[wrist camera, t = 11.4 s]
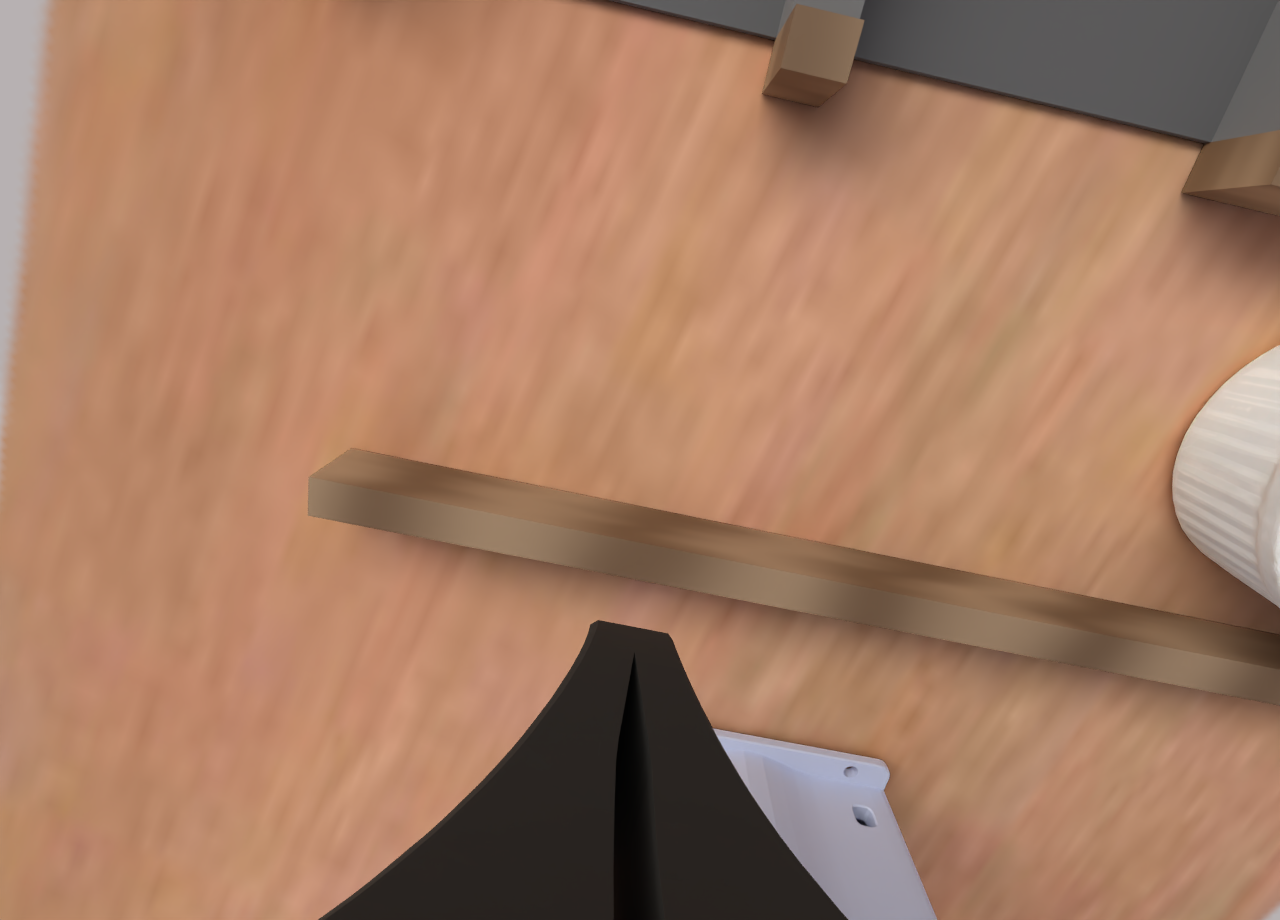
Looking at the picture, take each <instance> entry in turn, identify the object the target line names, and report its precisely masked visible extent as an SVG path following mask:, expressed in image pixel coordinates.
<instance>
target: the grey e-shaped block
mask: <svg viewBox="0 0 1280 920" xmlns="http://www.w3.org/2000/svg"><path fill="white" fill-rule="evenodd" d="M609 1H613V2H618V3H622V4H626V5H630V6H634V7H638V8H643V9H647V10H651V11H655V12H659V13H663V14H668V15H672V16H676V17H680V18H684V19H688V20H693V21H697V22H701V23H705V24H709V25H713V26H718V27H722V28H726V29H730V30H734V31H738V32H743V33H747V34H751V35H755V36H759V37H763V38H768V39H772V40H775V39H776V37H777V36H778V34H779V32H780V31H781V29H782V27H783V26H784V24H785V22H786V21H787V19H788V17H789V15H790V14H791V12H792V10H793V9H794V7H795V5H796V4H800V5H805V6H809V7H813V8H817V9H821V10H825V11H829V12H833V13H838V14H842V15H846V16H850V17H854V18H858V19H862V20H865V21H864V24H863V28H862V31H861V35H860V38H859V42H858V45H857V49H856V53H855V56H854V59H855V60H859V61H863V62H868V63H872V64H876V65H880V66H884V67H888V68H893V69H897V70H901V71H905V72H909V73H913V74H918V75H922V76H926V77H930V78H934V79H938V80H943V81H947V82H951V83H955V84H959V85H963V86H968V87H972V88H976V89H980V90H984V91H989V92H993V93H997V94H1001V95H1005V96H1009V97H1014V98H1018V99H1022V100H1026V101H1030V102H1034V103H1039V104H1043V105H1047V106H1051V107H1055V108H1059V109H1064V110H1068V111H1072V112H1076V113H1080V114H1084V115H1089V116H1093V117H1097V118H1101V119H1105V120H1109V121H1114V122H1118V123H1122V124H1126V125H1130V126H1134V127H1139V128H1143V129H1147V130H1151V131H1155V132H1159V133H1164V134H1168V135H1172V136H1176V137H1180V138H1184V139H1189V140H1193V141H1197V142H1201V143H1209V142H1215V141H1221V140H1226V139H1232V138H1237V137H1243V136H1249V135H1254V134H1260V133H1265V132H1271V131H1276V130H1280V0H609Z"/></svg>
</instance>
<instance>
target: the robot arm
mask: <svg viewBox="0 0 1280 920" xmlns="http://www.w3.org/2000/svg"><path fill="white" fill-rule="evenodd" d="M852 766H853V767H852ZM847 767H851V768H849V769H845V768H847ZM889 778H890V772H889V769H888V767H887V765H886V763H885V762H884V761H882V760H880V759H876V758H870V757H865V756H860V755H854V754H849V753H843V752H838V751H833V750H827V749H822V748H816V747H811V746H806V745H800V744H795V743H789V742H784V741H779V740H773V739H768V738H762V737H757V736H752V735H746V734H741V733H735V732H730V731H725V730H719V729H714V728H712V726H711V724H710V722H709V720H708V718H707V716H706V714H705V712H704V710H703V708H702V706H701V705H700V702H699V700H698V698H697V696H696V694H695V692H694V690H693V688H692V686H691V683H690V681H689V679H688V677H687V675H686V672H685V670H684V668H683V665H682V663H681V660H680V658H679V656H678V653H677V651H676V648H675V645H674V643H673V640H672V639H671V637H670V636H669V634H668V633H662V632H657V631H652V630H647V629H641V628H636V627H631V626H626V625H621V624H615V623H610V622H605V621H600V620H598V621H596V622H594V623H592V624H591V625H590V629H589V632H588V635H587V638H586V640H585V643H584V645H583V647H582V649H581V651H580V653H579V655H578V657H577V658H576V660H575V662H574V664H573V666H572V667H571V669H570V671H569V672H568V674H567V675H566V677H565V678H564V680H563V681H562V683H561V684H560V686H559V687H558V689H557V691H556V692H555V694H554V695H553V697H552V698H551V699H550V701H549V702H548V704H547V705H546V706H545V707H544V709H543V710H542V711H541V713H540V714H539V715H538V717H537V718H536V719H535V720H534V722H533V723H532V724H531V726H530V727H529V728H528V730H527V731H526V732H525V733H524V735H523V736H522V737H521V738H520V739H519V741H518V742H517V743H516V744H515V745H514V747H513V748H512V749H511V750H510V751H509V752H508V753H507V755H506V756H505V757H504V758H503V759H502V760H501V761H500V762H499V763H498V765H497V766H496V767H495V768H494V769H493V770H492V771H491V772H490V773H489V774H488V775H487V776H486V778H485V779H484V780H483V781H482V782H481V783H480V784H479V785H478V786H477V787H476V788H475V789H474V790H473V791H472V792H471V793H470V794H469V795H468V796H466V797H465V798H464V799H463V800H462V801H461V802H460V803H459V804H458V805H457V806H456V807H455V808H454V809H453V810H452V811H451V812H450V813H449V814H448V815H447V816H446V817H445V818H444V819H443V820H442V821H440V822H439V823H438V824H437V825H436V826H435V827H434V828H433V829H432V830H431V831H429V832H428V833H427V834H426V835H425V836H424V837H422V838H421V839H420V840H419V841H418V842H416V843H415V844H414V845H413V846H412V847H410V848H409V849H408V850H407V851H406V852H404V853H403V854H402V855H401V856H400V857H399V858H397V859H396V860H395V861H394V862H393V863H391V864H390V865H389V866H388V867H387V868H385V869H384V870H383V871H382V872H381V873H379V874H378V875H377V876H376V877H375V878H373V879H372V880H371V881H370V882H368V883H367V884H366V885H365V886H363V887H362V888H361V889H359V890H358V891H357V892H356V893H354V894H353V895H352V896H350V897H349V898H348V899H346V900H345V901H343V902H342V903H341V904H339V905H338V906H337V907H335V908H334V909H332V910H331V911H330V912H328V913H327V914H325V915H324V916H323V917H321V918H320V919H319V920H937V918H936V915H935V913H934V910H933V908H932V906H931V903H930V901H929V898H928V896H927V894H926V891H925V889H924V886H923V884H922V882H921V879H920V877H919V874H918V872H917V870H916V867H915V865H914V862H913V860H912V857H911V855H910V853H909V850H908V848H907V845H906V843H905V841H904V838H903V836H902V833H901V831H900V829H899V826H898V824H897V821H896V819H895V816H894V814H893V812H892V809H891V807H890V804H889V802H888V800H887V797H886V795H885V792H884V789H885V787H886V784H887V782H888V780H889Z"/></svg>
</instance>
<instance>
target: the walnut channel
mask: <svg viewBox="0 0 1280 920" xmlns="http://www.w3.org/2000/svg"><path fill="white" fill-rule="evenodd" d="M864 21H865V20H862V19H858V18H854V17H850V16H846V15H842V14H838V13H833V12H829V11H825V10H821V9H817V8H813V7H809V6H805V5H800V4H796V5H795V7H794V9H793V10H792V12H791V14H790V15H789V17H788V19H787V21H786V22H785V24H784V26H783V27H782V29H781V31H780V32H779V34H778V36H777V37H776V39H775V42H774V46H773V50H772V54H771V58H770V62H769V67H768V71H767V75H766V79H765V83H764V87H763V91H762V94H764V95H768V96H773V97H777V98H781V99H785V100H790V101H794V102H798V103H802V104H807V105H811V106H815V107H819V106H820V105H822V104H823V103H824V102H825V101H826V100H828V99H829V98H830V97H831V96H832V95H834V94H835V93H836V92H837V91H838V90H840V89H841V88H842V87H843V86H844V85H846V84H847V81H848V77H849V74H850V70H851V67H852V63H853V60H854V56H855V53H856V49H857V45H858V42H859V38H860V35H861V31H862V28H863V24H864ZM1182 193H1185V194H1189V195H1193V196H1197V197H1202V198H1206V199H1210V200H1214V201H1219V202H1223V203H1227V204H1231V205H1236V206H1240V207H1244V208H1248V209H1253V210H1257V211H1261V212H1265V213H1269V214H1274V215H1278V216H1280V130H1276V131H1271V132H1265V133H1260V134H1254V135H1249V136H1243V137H1237V138H1232V139H1226V140H1221V141H1215V142H1209V143H1205V144H1204V146H1203V148H1202V150H1201V152H1200V154H1199V156H1198V159H1197V161H1196V163H1195V165H1194V167H1193V169H1192V171H1191V173H1190V176H1189V178H1188V180H1187V182H1186V184H1185V186H1184V188H1183V190H1182ZM308 516H313V517H318V518H323V519H328V520H333V521H338V522H344V523H349V524H354V525H359V526H364V527H369V528H374V529H379V530H384V531H390V532H395V533H400V534H405V535H410V536H415V537H420V538H425V539H431V540H436V541H441V542H446V543H451V544H456V545H461V546H466V547H471V548H477V549H482V550H487V551H492V552H497V553H502V554H507V555H512V556H517V557H523V558H528V559H533V560H538V561H543V562H548V563H553V564H558V565H563V566H569V567H574V568H579V569H584V570H589V571H594V572H599V573H604V574H609V575H615V576H620V577H625V578H630V579H635V580H640V581H645V582H650V583H655V584H661V585H666V586H671V587H676V588H681V589H686V590H691V591H696V592H702V593H707V594H712V595H717V596H722V597H727V598H732V599H737V600H742V601H748V602H753V603H758V604H763V605H768V606H773V607H778V608H783V609H788V610H794V611H799V612H804V613H809V614H814V615H819V616H824V617H829V618H834V619H840V620H845V621H850V622H855V623H860V624H865V625H870V626H875V627H880V628H886V629H891V630H896V631H901V632H906V633H911V634H916V635H921V636H927V637H932V638H937V639H942V640H947V641H952V642H957V643H962V644H967V645H973V646H978V647H983V648H988V649H993V650H998V651H1003V652H1008V653H1013V654H1019V655H1024V656H1029V657H1034V658H1039V659H1044V660H1049V661H1054V662H1059V663H1065V664H1070V665H1075V666H1080V667H1085V668H1090V669H1095V670H1100V671H1105V672H1111V673H1116V674H1121V675H1126V676H1131V677H1136V678H1141V679H1146V680H1152V681H1157V682H1162V683H1167V684H1172V685H1177V686H1182V687H1187V688H1192V689H1198V690H1203V691H1208V692H1213V693H1218V694H1223V695H1228V696H1233V697H1238V698H1244V699H1249V700H1254V701H1259V702H1264V703H1269V704H1274V705H1279V706H1280V635H1277V634H1272V633H1267V632H1262V631H1257V630H1252V629H1247V628H1242V627H1237V626H1232V625H1227V624H1222V623H1217V622H1212V621H1207V620H1202V619H1198V618H1193V617H1188V616H1183V615H1178V614H1173V613H1168V612H1163V611H1158V610H1153V609H1148V608H1143V607H1138V606H1133V605H1128V604H1123V603H1118V602H1113V601H1108V600H1103V599H1098V598H1093V597H1088V596H1083V595H1078V594H1073V593H1068V592H1063V591H1058V590H1053V589H1048V588H1044V587H1039V586H1034V585H1029V584H1024V583H1019V582H1014V581H1009V580H1004V579H999V578H994V577H989V576H984V575H979V574H974V573H969V572H964V571H959V570H954V569H949V568H944V567H939V566H934V565H929V564H924V563H919V562H914V561H909V560H904V559H899V558H895V557H890V556H885V555H880V554H875V553H870V552H865V551H860V550H855V549H850V548H845V547H840V546H835V545H830V544H825V543H820V542H815V541H810V540H805V539H800V538H795V537H790V536H785V535H780V534H775V533H770V532H765V531H760V530H755V529H750V528H745V527H741V526H736V525H731V524H726V523H721V522H716V521H711V520H706V519H701V518H696V517H691V516H686V515H681V514H676V513H671V512H666V511H661V510H656V509H651V508H646V507H641V506H636V505H631V504H626V503H621V502H616V501H611V500H606V499H601V498H596V497H591V496H587V495H582V494H577V493H572V492H567V491H562V490H557V489H552V488H547V487H542V486H537V485H532V484H527V483H522V482H517V481H512V480H507V479H502V478H497V477H492V476H487V475H482V474H477V473H472V472H467V471H462V470H457V469H452V468H447V467H442V466H437V465H433V464H428V463H423V462H418V461H413V460H408V459H403V458H398V457H393V456H388V455H383V454H378V453H373V452H368V451H363V450H358V449H353V448H351V449H349V450H348V451H346V452H345V453H343V454H342V455H340V456H339V457H337V458H336V459H335V460H333V461H332V462H330V463H329V464H327V465H326V466H324V467H323V468H321V469H320V470H318V471H317V472H315V473H314V474H312V475H311V476H309V488H308Z"/></svg>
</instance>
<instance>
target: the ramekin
mask: <svg viewBox="0 0 1280 920" xmlns="http://www.w3.org/2000/svg"><path fill="white" fill-rule="evenodd" d="M1172 493H1173V502H1174V506H1175V512H1176V515H1177V518H1178V520H1179V523H1180V525H1181V528H1182V529H1183V531H1184V532H1185V534H1186V535H1187V537H1188V538H1189V539H1190V541H1191V542H1192V543H1193V544H1194V545H1195V546H1196V547H1197V548H1198V549H1199V550H1200V551H1201V552H1202V553H1203V554H1204V555H1206V556H1207V557H1208V558H1210V559H1211V560H1212V561H1214V562H1215V563H1217V564H1218V565H1219V566H1221V567H1222V568H1223V569H1225V570H1226V571H1227V572H1229V573H1230V574H1232V575H1233V576H1234V577H1236V578H1237V579H1239V580H1240V581H1242V582H1243V583H1245V584H1246V585H1247V586H1249V587H1250V588H1252V589H1253V590H1255V591H1256V592H1258V593H1259V594H1261V595H1262V596H1264V597H1265V598H1266V599H1268V600H1269V601H1271V602H1272V603H1274V604H1275V605H1277V606H1278V607H1279V608H1280V345H1278V346H1276V347H1274V348H1273V349H1271V350H1269V351H1267V352H1266V353H1264V354H1262V355H1261V356H1259V357H1258V358H1256V359H1255V360H1253V361H1252V362H1250V363H1249V364H1247V365H1246V366H1245V367H1243V368H1242V369H1241V370H1239V371H1238V372H1237V373H1236V374H1234V375H1233V376H1232V377H1231V378H1230V379H1229V380H1227V381H1226V382H1225V383H1224V384H1223V385H1222V386H1221V387H1220V388H1219V389H1218V390H1217V391H1216V392H1215V393H1214V395H1213V396H1212V397H1211V398H1210V399H1209V400H1208V402H1207V403H1206V404H1205V405H1204V407H1203V408H1202V409H1201V410H1200V412H1199V413H1198V414H1197V416H1196V417H1195V419H1194V420H1193V422H1192V424H1191V425H1190V427H1189V429H1188V431H1187V432H1186V434H1185V436H1184V438H1183V441H1182V443H1181V446H1180V448H1179V451H1178V454H1177V457H1176V461H1175V465H1174V470H1173V481H1172Z"/></svg>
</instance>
